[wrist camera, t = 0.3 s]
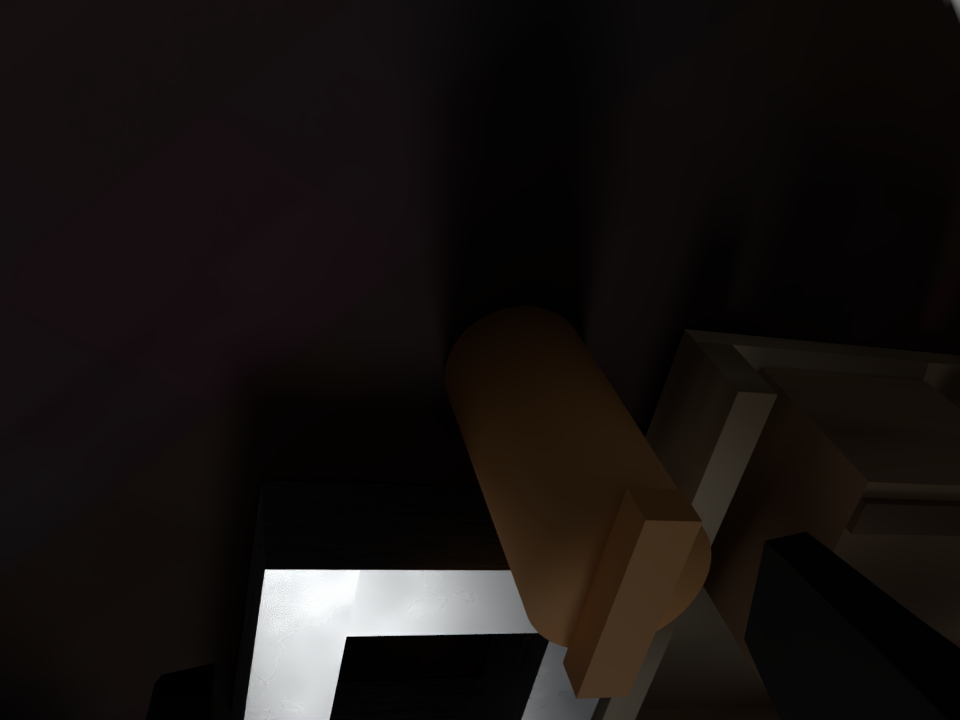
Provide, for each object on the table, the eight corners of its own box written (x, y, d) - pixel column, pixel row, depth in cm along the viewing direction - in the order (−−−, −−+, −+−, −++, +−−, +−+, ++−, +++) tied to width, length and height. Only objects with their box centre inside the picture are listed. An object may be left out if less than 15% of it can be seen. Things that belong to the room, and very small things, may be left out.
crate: (834, 555, 27) (938, 684, 23) (683, 553, 25) (766, 692, 21) (926, 381, 24) (1062, 495, 20) (762, 367, 22) (874, 488, 18)
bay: (785, 706, 31) (858, 826, 28) (542, 718, 29) (587, 853, 25) (977, 357, 25) (1106, 453, 21) (684, 329, 22) (774, 434, 18)
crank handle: (559, 442, 23) (687, 693, 16) (429, 435, 22) (511, 701, 15) (603, 301, 21) (768, 523, 15) (463, 286, 20) (573, 518, 14)
